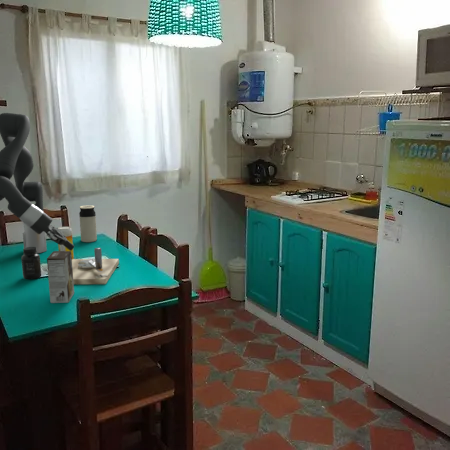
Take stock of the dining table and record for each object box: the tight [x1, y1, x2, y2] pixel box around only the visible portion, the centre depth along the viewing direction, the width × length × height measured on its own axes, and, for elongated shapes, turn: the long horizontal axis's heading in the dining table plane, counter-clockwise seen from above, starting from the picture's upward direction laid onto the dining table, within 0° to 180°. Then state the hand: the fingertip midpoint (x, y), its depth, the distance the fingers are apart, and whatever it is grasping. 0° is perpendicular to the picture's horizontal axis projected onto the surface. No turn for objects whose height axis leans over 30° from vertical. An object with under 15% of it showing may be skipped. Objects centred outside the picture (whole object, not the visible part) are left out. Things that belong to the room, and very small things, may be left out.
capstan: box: [78, 247, 103, 272], centre depth 191 cm, size 21×9×10 cm, turn 32°
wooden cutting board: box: [72, 258, 120, 285], centre depth 194 cm, size 20×27×2 cm
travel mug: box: [78, 204, 98, 243], centre depth 245 cm, size 8×8×18 cm
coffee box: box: [46, 250, 75, 304], centre depth 166 cm, size 9×6×16 cm
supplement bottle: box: [20, 247, 42, 281], centre depth 188 cm, size 7×7×12 cm
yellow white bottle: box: [57, 226, 75, 259], centre depth 210 cm, size 6×6×15 cm
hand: (72, 248), depth 181 cm, fingers closed
